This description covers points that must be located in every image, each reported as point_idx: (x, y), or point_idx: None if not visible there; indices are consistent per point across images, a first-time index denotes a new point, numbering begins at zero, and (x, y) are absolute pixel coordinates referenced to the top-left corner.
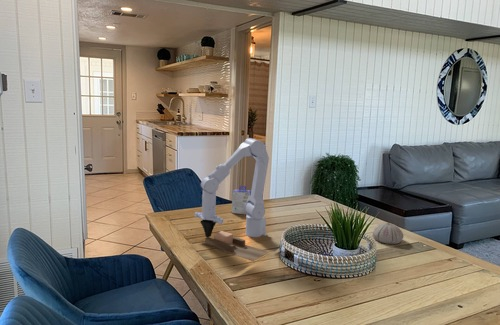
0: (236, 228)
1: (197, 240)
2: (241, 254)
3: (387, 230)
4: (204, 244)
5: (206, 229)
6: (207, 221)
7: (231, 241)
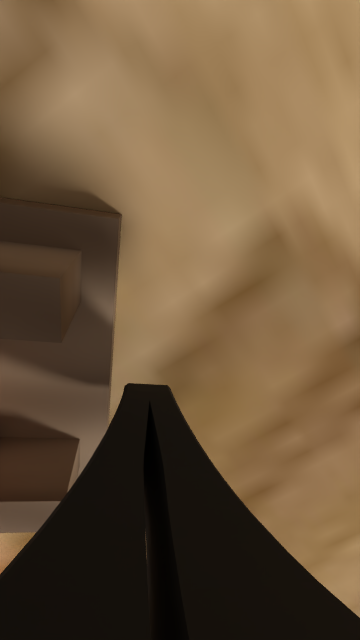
0: None
1: (265, 332)
2: None
3: None
4: (72, 224)
5: (133, 474)
6: None
7: None
